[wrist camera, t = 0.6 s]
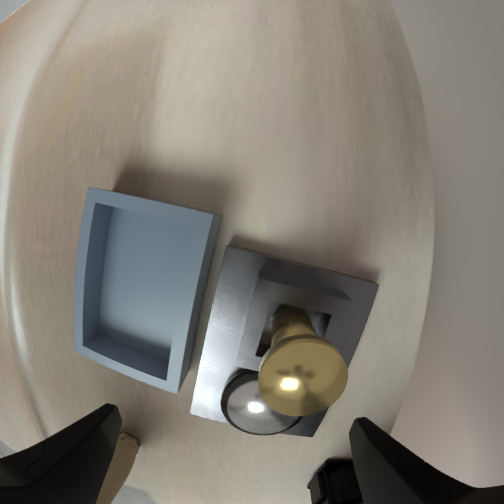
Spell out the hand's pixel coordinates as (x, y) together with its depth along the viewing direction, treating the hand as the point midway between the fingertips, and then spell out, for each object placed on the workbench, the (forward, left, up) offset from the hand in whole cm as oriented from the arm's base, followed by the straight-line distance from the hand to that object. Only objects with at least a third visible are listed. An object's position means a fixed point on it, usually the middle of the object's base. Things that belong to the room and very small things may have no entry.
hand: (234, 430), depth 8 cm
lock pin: (-3, 0, -12) cm, 12 cm away
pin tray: (+9, 0, -13) cm, 16 cm away
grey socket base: (-3, +3, -13) cm, 14 cm away
